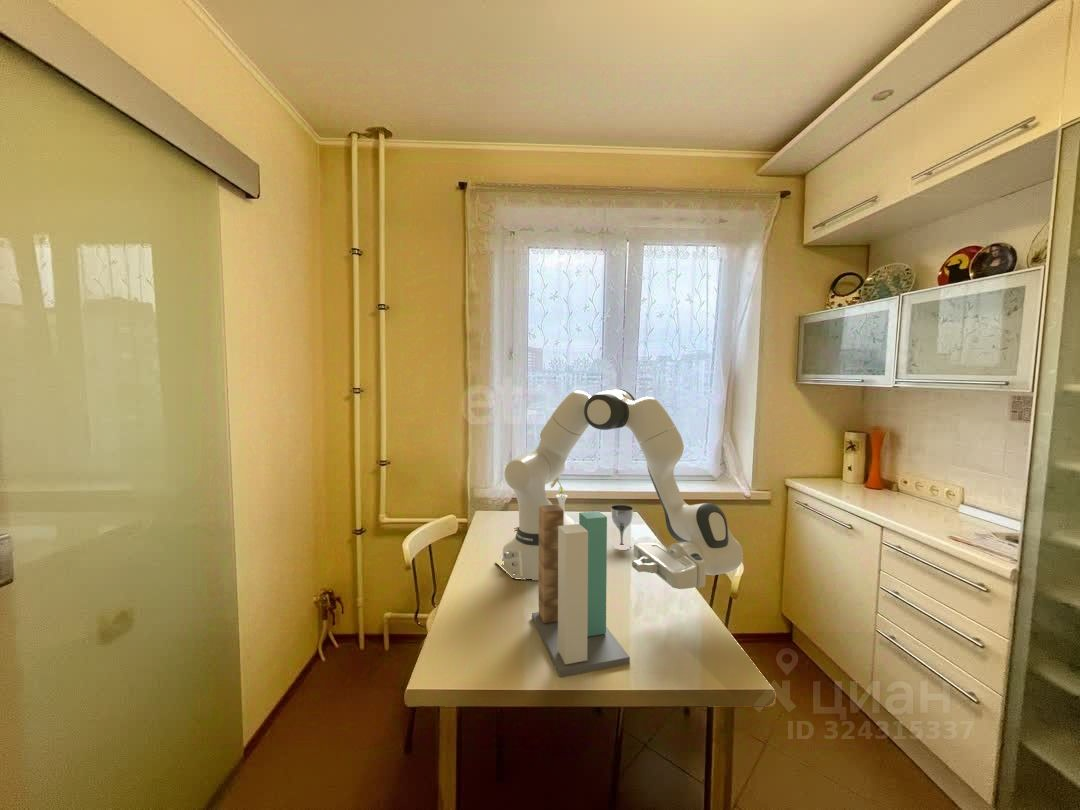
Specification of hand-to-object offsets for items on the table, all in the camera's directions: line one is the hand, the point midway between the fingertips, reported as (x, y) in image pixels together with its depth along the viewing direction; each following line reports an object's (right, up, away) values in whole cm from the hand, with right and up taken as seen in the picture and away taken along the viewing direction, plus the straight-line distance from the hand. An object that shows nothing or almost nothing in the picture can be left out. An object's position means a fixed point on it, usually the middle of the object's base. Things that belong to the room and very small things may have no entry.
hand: (634, 566), depth 104 cm
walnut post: (-21, -14, +3) cm, 25 cm away
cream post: (-16, -15, -12) cm, 25 cm away
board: (-15, -16, -3) cm, 22 cm away
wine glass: (+7, -14, +55) cm, 57 cm away
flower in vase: (-15, -13, +75) cm, 78 cm away
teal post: (-11, -14, -2) cm, 18 cm away
